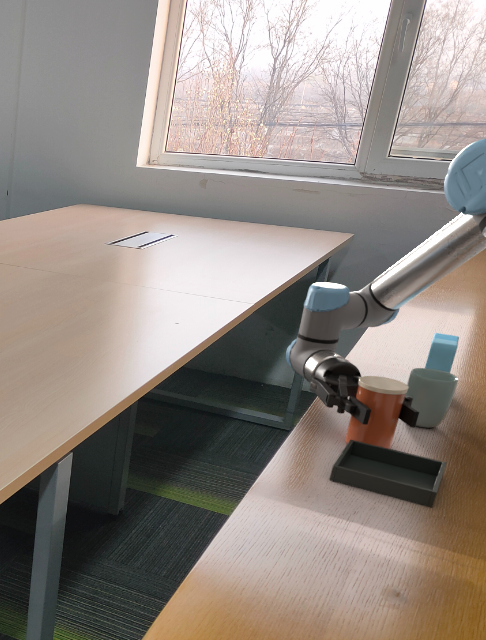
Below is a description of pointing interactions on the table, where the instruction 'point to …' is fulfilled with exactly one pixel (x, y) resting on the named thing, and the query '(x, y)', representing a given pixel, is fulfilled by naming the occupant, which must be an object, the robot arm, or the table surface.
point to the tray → (389, 472)
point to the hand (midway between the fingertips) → (391, 418)
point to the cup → (431, 394)
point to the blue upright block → (442, 352)
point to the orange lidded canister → (378, 410)
